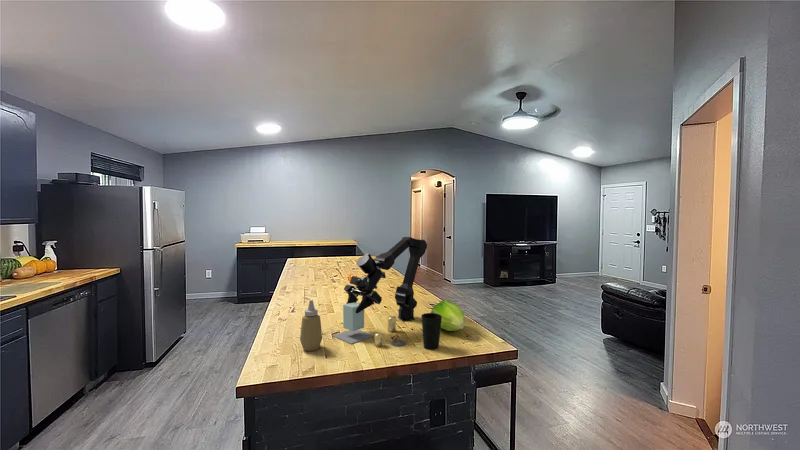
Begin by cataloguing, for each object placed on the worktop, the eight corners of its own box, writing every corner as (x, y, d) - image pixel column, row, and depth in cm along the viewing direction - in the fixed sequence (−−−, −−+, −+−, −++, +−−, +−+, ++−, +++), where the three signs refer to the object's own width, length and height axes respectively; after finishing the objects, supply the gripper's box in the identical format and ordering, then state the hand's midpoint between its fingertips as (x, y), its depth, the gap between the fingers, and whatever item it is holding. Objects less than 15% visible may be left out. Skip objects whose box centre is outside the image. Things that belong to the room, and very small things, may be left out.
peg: (393, 329, 150) (394, 315, 150) (397, 331, 147) (397, 317, 147) (386, 330, 149) (386, 316, 148) (389, 332, 146) (389, 318, 145)
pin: (380, 343, 134) (380, 332, 133) (383, 346, 131) (383, 334, 131) (373, 344, 132) (373, 333, 132) (375, 347, 130) (376, 335, 129)
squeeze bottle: (310, 354, 123) (310, 304, 122) (295, 349, 127) (295, 301, 126) (326, 347, 129) (327, 299, 129) (311, 342, 134) (311, 296, 133)
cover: (354, 324, 145) (354, 301, 145) (364, 327, 141) (364, 304, 141) (343, 327, 141) (343, 304, 140) (352, 331, 137) (352, 307, 136)
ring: (402, 340, 138) (402, 339, 138) (408, 345, 132) (408, 344, 132) (389, 342, 135) (389, 341, 135) (394, 347, 130) (394, 346, 130)
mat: (355, 329, 149) (355, 328, 149) (374, 336, 141) (374, 335, 141) (332, 336, 141) (332, 335, 141) (351, 344, 132) (351, 343, 132)
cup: (443, 344, 133) (443, 314, 132) (438, 352, 126) (439, 320, 125) (423, 342, 135) (424, 312, 135) (418, 349, 128) (419, 317, 128)
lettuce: (444, 341, 136) (445, 311, 136) (426, 325, 156) (427, 299, 155) (476, 338, 140) (476, 309, 140) (454, 323, 160) (455, 297, 159)
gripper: (347, 266, 149) (325, 295, 142) (376, 271, 136) (355, 304, 129) (361, 281, 155) (341, 310, 148) (390, 288, 143) (370, 320, 135)
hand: (351, 311), depth 140 cm, fingers closed on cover, 6 cm apart
